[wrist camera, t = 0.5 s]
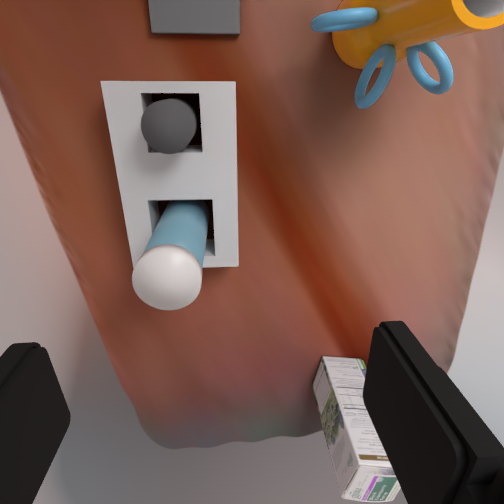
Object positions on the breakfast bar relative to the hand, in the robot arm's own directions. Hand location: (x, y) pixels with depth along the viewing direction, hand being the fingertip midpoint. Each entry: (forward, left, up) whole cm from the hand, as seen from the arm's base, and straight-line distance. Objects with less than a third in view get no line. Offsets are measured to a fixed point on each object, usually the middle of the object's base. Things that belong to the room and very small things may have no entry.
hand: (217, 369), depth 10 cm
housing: (0, -4, -25) cm, 25 cm away
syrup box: (+27, +14, -25) cm, 40 cm away
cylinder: (-12, +12, -25) cm, 31 cm away
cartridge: (+4, -4, -25) cm, 26 cm away
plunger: (-5, -4, -24) cm, 24 cm away
